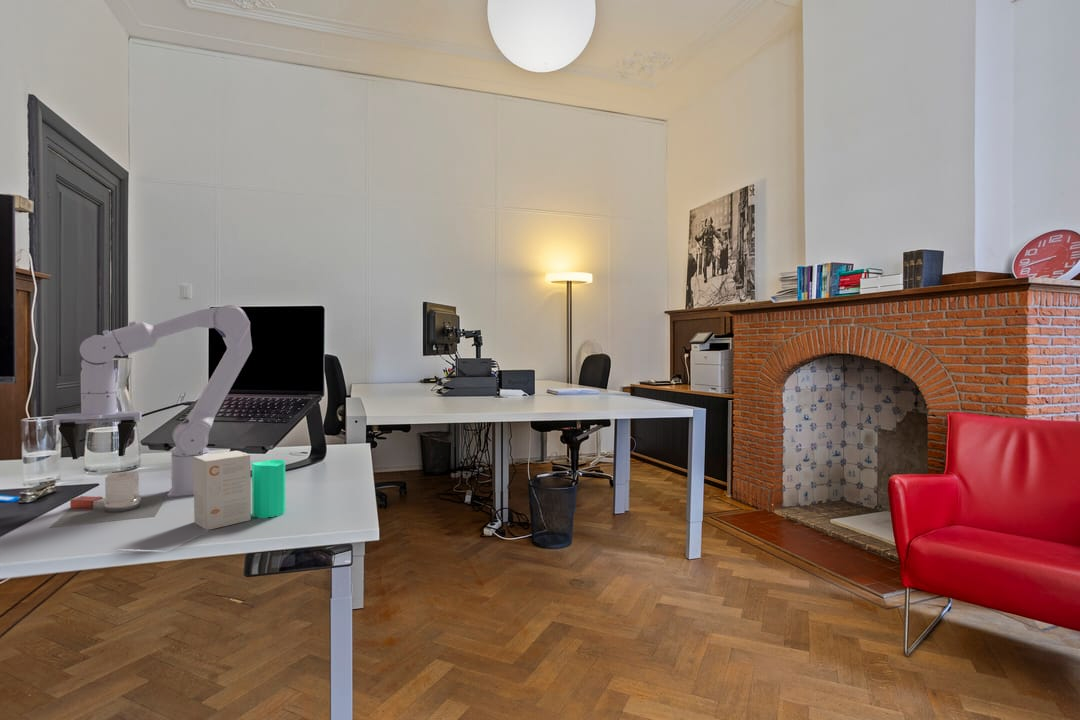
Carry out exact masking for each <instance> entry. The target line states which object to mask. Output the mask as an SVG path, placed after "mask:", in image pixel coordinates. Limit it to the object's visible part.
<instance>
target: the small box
mask: <svg viewBox="0 0 1080 720" xmlns="http://www.w3.org/2000/svg"><path fill="white" fill-rule="evenodd" d="M193 467H194V494H193V515H194V516H193V518H194V521H193V523H195V524H196V525H198V526H200V528H203V529H204V530H207V531H211V530H214V529H218V528H219V529H220V528H223V527H228V526H231V525H235V524H240V523H244V522H248V521H252V520H251V519H252V518H251V517H252V516H251V515H252V481H251V454H249V453H246V452H244V451H240V450H231V451H230V450H229V451H224V452H219V453H216V454H209V455H202V456H194V457H193Z"/></svg>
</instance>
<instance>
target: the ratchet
mask: <svg viewBox="0 0 1080 720" xmlns="http://www.w3.org/2000/svg"><path fill="white" fill-rule="evenodd" d="M141 498H142V497H141V495H138V496H137V497H136V499H135V500H133V501H123V502H112V503H106V497H104V498H103V496H88V495H87V496H83V495H82V496H78V497H75V498H72V499H70V501H69V502H70V504H69V505H70V509H104V512H107V513H119V512H126V511H131V510H135V509H138V508H140V507H141Z"/></svg>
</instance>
